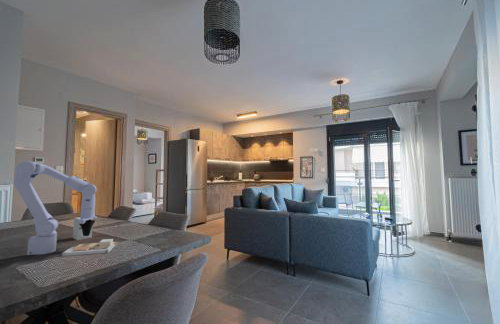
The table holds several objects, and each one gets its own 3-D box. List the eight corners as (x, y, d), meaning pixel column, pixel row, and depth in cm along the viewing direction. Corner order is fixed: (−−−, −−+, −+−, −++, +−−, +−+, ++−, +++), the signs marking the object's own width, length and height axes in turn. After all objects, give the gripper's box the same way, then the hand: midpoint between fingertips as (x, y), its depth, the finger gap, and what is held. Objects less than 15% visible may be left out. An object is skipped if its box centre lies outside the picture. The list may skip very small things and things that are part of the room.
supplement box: (76, 242, 125) (78, 219, 126) (72, 240, 129) (73, 217, 130) (92, 239, 131) (93, 217, 132) (87, 237, 135) (88, 216, 136)
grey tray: (61, 258, 100) (61, 253, 100) (71, 251, 109) (72, 246, 109) (107, 255, 105) (108, 249, 105) (114, 248, 114) (114, 243, 114)
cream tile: (98, 246, 115) (99, 242, 115) (102, 243, 119) (102, 239, 120) (110, 245, 116) (110, 241, 116) (112, 242, 121) (113, 238, 121)
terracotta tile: (73, 254, 105) (73, 250, 105) (77, 251, 109) (78, 246, 109) (85, 253, 106) (85, 249, 106) (89, 250, 111) (90, 246, 111)
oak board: (72, 251, 109) (72, 249, 109) (80, 246, 118) (80, 243, 118) (114, 248, 115) (114, 246, 115) (118, 243, 123) (119, 241, 123)
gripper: (91, 209, 108) (89, 239, 107) (102, 206, 122) (100, 231, 121) (74, 210, 106) (72, 239, 105) (86, 206, 120) (85, 232, 119)
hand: (86, 235), depth 113 cm, fingers closed
